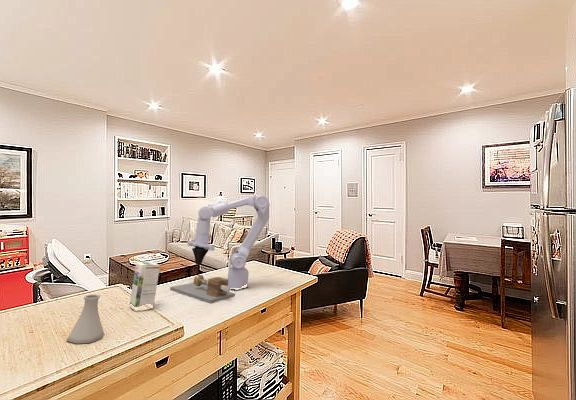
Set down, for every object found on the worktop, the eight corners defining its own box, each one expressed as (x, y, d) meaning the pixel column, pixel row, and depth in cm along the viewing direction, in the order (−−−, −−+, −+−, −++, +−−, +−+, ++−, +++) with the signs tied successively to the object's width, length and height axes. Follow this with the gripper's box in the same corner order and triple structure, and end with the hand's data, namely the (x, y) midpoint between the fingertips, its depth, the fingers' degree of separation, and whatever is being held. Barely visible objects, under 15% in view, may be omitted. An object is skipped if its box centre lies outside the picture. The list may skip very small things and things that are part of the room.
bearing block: (217, 291, 116) (219, 276, 116) (226, 294, 113) (228, 279, 114) (206, 294, 111) (208, 278, 111) (216, 297, 108) (218, 281, 109)
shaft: (201, 284, 119) (202, 274, 120) (231, 293, 111) (232, 282, 112) (192, 286, 116) (194, 275, 116) (223, 296, 107) (225, 284, 108)
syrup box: (128, 306, 92) (135, 261, 93) (147, 304, 96) (153, 261, 97) (134, 312, 88) (141, 265, 89) (154, 309, 92) (160, 264, 93)
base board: (196, 284, 127) (196, 282, 127) (234, 296, 116) (235, 293, 116) (170, 289, 115) (170, 286, 115) (209, 303, 104) (210, 300, 104)
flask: (79, 330, 72) (86, 290, 73) (109, 333, 73) (115, 293, 73) (59, 343, 65) (66, 298, 66) (92, 346, 65) (99, 301, 66)
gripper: (184, 231, 126) (179, 262, 125) (207, 235, 119) (203, 268, 118) (196, 231, 132) (192, 261, 131) (219, 235, 125) (215, 267, 124)
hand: (198, 264), depth 125 cm, fingers closed
